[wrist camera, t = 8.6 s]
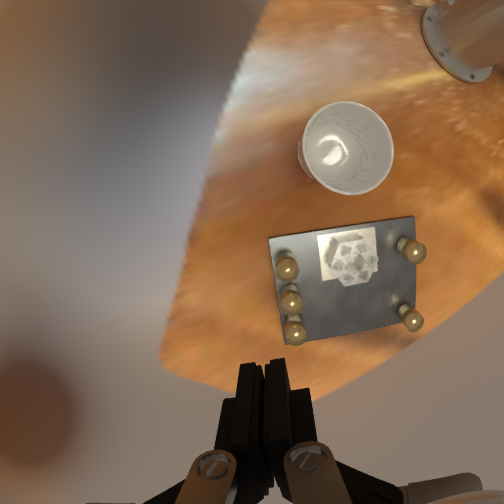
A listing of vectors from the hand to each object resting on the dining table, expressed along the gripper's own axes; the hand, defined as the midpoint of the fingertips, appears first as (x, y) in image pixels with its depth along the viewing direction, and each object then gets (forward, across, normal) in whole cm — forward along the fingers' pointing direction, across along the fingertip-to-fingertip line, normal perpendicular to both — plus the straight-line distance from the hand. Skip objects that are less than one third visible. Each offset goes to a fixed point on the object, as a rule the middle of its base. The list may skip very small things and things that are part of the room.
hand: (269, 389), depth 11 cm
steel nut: (+25, -9, +4) cm, 26 cm away
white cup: (+26, -8, -8) cm, 28 cm away
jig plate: (+25, -9, +7) cm, 28 cm away
